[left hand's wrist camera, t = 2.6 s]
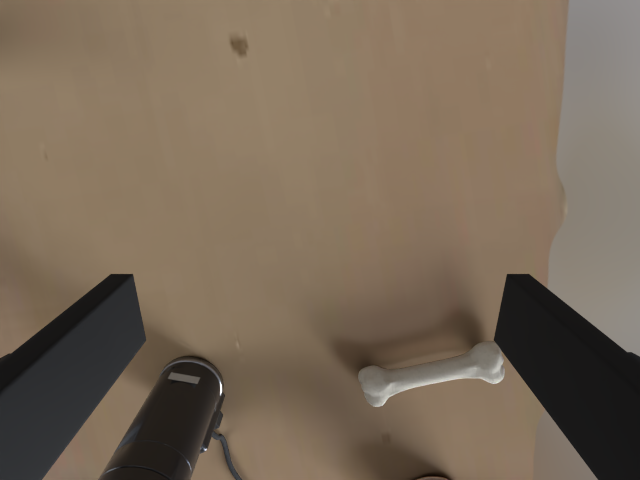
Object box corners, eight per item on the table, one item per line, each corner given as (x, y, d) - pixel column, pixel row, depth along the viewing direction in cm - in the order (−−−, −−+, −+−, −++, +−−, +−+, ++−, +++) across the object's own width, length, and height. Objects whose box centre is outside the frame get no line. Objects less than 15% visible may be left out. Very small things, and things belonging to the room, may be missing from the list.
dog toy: (363, 392, 55) (368, 418, 50) (354, 361, 53) (358, 385, 48) (496, 364, 53) (513, 389, 48) (492, 330, 51) (509, 353, 46)
